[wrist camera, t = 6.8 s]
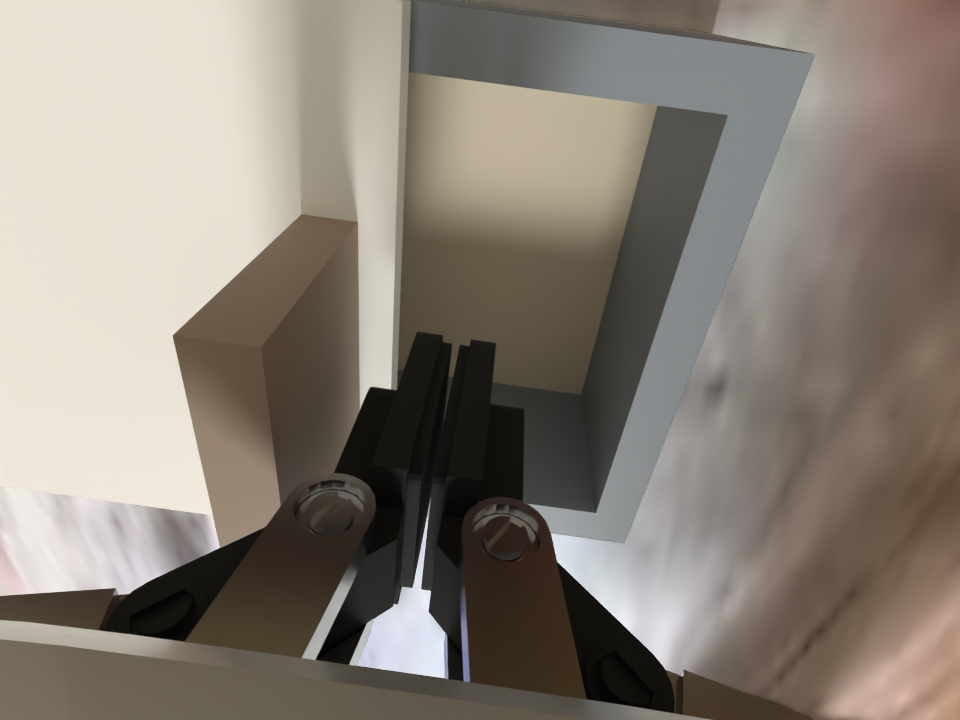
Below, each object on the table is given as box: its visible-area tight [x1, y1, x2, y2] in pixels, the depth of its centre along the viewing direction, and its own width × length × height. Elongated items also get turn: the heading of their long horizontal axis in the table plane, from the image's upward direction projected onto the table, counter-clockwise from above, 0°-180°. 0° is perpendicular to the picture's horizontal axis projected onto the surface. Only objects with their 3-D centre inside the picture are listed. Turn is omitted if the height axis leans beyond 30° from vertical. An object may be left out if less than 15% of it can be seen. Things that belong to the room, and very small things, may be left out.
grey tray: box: [397, 0, 815, 543], centre depth 17 cm, size 22×14×7 cm, turn 84°
